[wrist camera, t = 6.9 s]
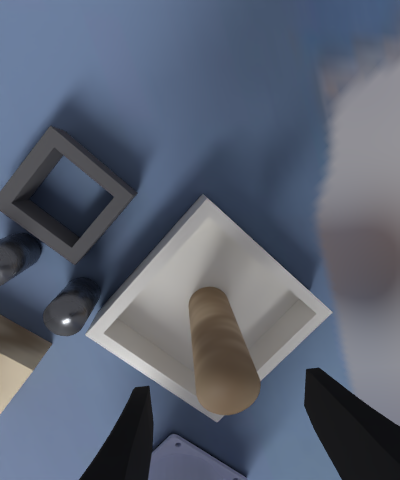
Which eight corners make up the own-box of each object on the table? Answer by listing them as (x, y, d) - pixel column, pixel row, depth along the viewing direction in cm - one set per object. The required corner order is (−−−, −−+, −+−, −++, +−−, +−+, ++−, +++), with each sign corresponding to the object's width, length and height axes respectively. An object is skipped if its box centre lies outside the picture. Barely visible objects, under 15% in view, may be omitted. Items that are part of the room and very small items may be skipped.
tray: (311, 292, 21) (332, 312, 19) (211, 390, 23) (217, 422, 20) (202, 193, 19) (207, 198, 16) (98, 311, 20) (85, 334, 17)
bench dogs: (106, 291, 20) (92, 315, 17) (86, 314, 20) (68, 342, 17) (16, 225, 18) (-20, 238, 15) (-4, 251, 19) (-44, 270, 15)
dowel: (228, 284, 20) (260, 357, 12) (229, 321, 21) (260, 411, 13) (187, 288, 20) (194, 364, 12) (189, 325, 21) (197, 418, 13)
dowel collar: (137, 193, 18) (133, 196, 16) (85, 255, 19) (74, 265, 17) (64, 130, 17) (50, 125, 15) (10, 200, 18) (-10, 204, 16)
